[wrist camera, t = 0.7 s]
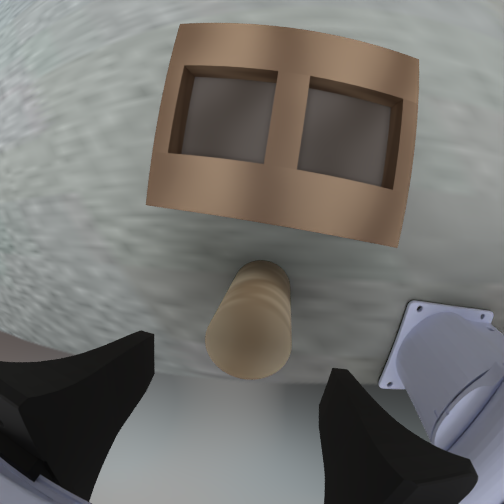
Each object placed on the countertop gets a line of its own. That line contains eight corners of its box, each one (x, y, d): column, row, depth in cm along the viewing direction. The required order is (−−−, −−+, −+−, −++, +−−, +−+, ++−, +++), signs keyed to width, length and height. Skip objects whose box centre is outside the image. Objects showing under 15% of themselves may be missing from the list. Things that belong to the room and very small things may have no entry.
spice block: (400, 76, 17) (418, 59, 13) (380, 237, 19) (397, 248, 16) (195, 44, 18) (179, 24, 14) (167, 201, 20) (145, 205, 17)
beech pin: (295, 265, 20) (300, 314, 13) (284, 318, 21) (282, 385, 14) (237, 255, 21) (209, 297, 13) (230, 308, 22) (202, 370, 14)
